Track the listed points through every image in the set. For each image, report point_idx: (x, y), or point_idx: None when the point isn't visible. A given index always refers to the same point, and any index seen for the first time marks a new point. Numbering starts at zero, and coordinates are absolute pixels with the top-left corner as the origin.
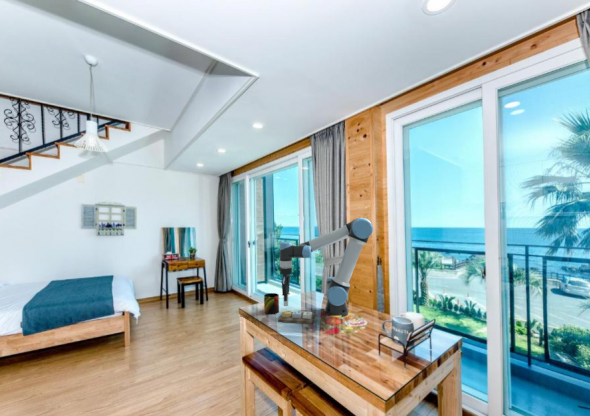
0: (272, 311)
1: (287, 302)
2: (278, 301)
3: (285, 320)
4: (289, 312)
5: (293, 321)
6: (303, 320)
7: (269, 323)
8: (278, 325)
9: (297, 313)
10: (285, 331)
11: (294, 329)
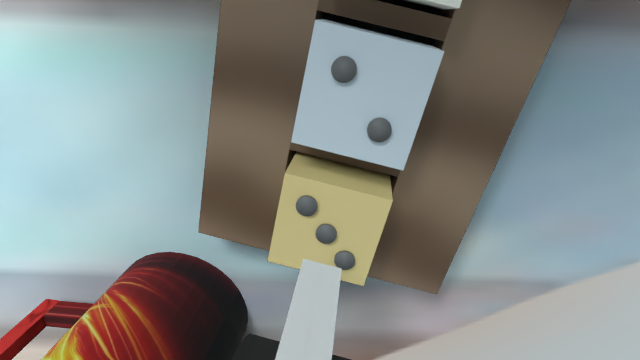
0: (230, 336)
1: (334, 316)
2: (115, 354)
3: (464, 226)
4: (348, 200)
5: (501, 139)
6: (543, 2)
7: (405, 328)
8: (466, 266)
9: (402, 94)
10: (636, 213)
11: (621, 122)
